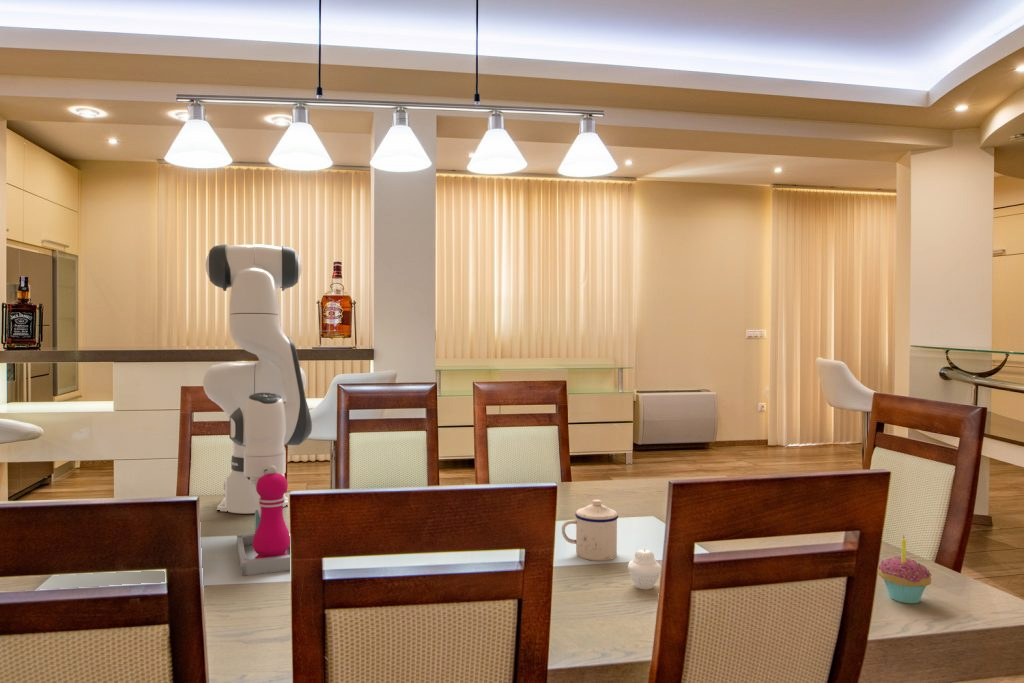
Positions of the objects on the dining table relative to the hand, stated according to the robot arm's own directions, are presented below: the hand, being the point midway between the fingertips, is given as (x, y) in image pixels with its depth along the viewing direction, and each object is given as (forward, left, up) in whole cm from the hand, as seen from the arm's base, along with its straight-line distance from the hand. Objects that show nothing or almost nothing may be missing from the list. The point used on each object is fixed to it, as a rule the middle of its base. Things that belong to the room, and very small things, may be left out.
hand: (264, 528), depth 152 cm
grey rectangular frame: (+10, 0, -3) cm, 10 cm away
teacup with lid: (+35, +63, -3) cm, 72 cm away
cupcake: (+78, +103, -3) cm, 129 cm away
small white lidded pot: (+55, +63, -3) cm, 84 cm away
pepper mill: (+16, 0, -3) cm, 17 cm away
